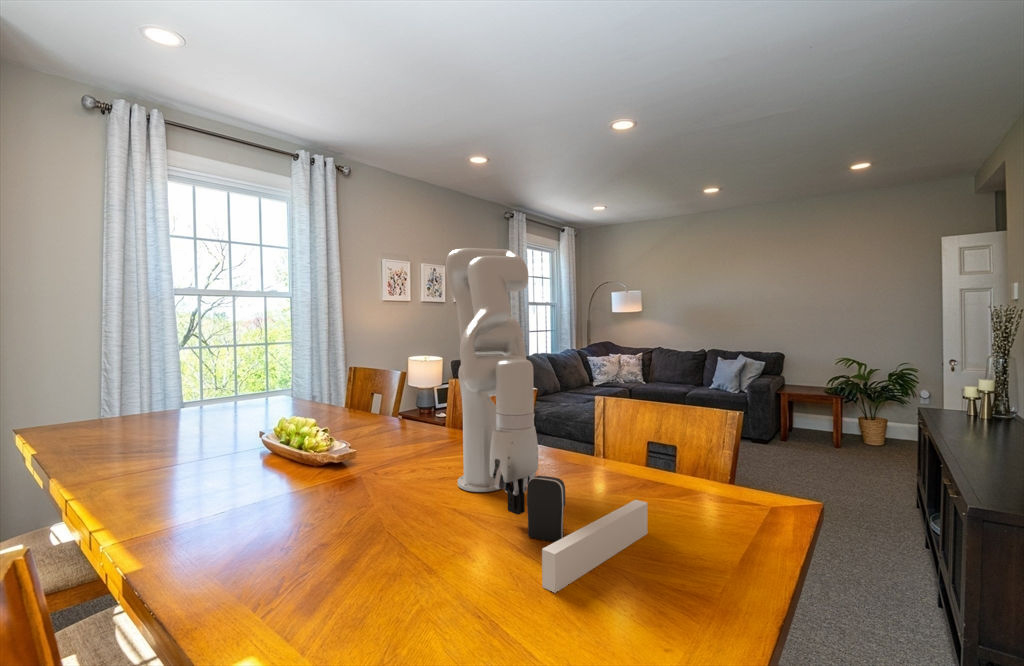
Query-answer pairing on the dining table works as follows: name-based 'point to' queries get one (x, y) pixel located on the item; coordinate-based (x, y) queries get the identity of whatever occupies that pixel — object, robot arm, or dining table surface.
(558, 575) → the board
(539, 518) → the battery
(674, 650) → the dining table surface
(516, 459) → the robot arm
